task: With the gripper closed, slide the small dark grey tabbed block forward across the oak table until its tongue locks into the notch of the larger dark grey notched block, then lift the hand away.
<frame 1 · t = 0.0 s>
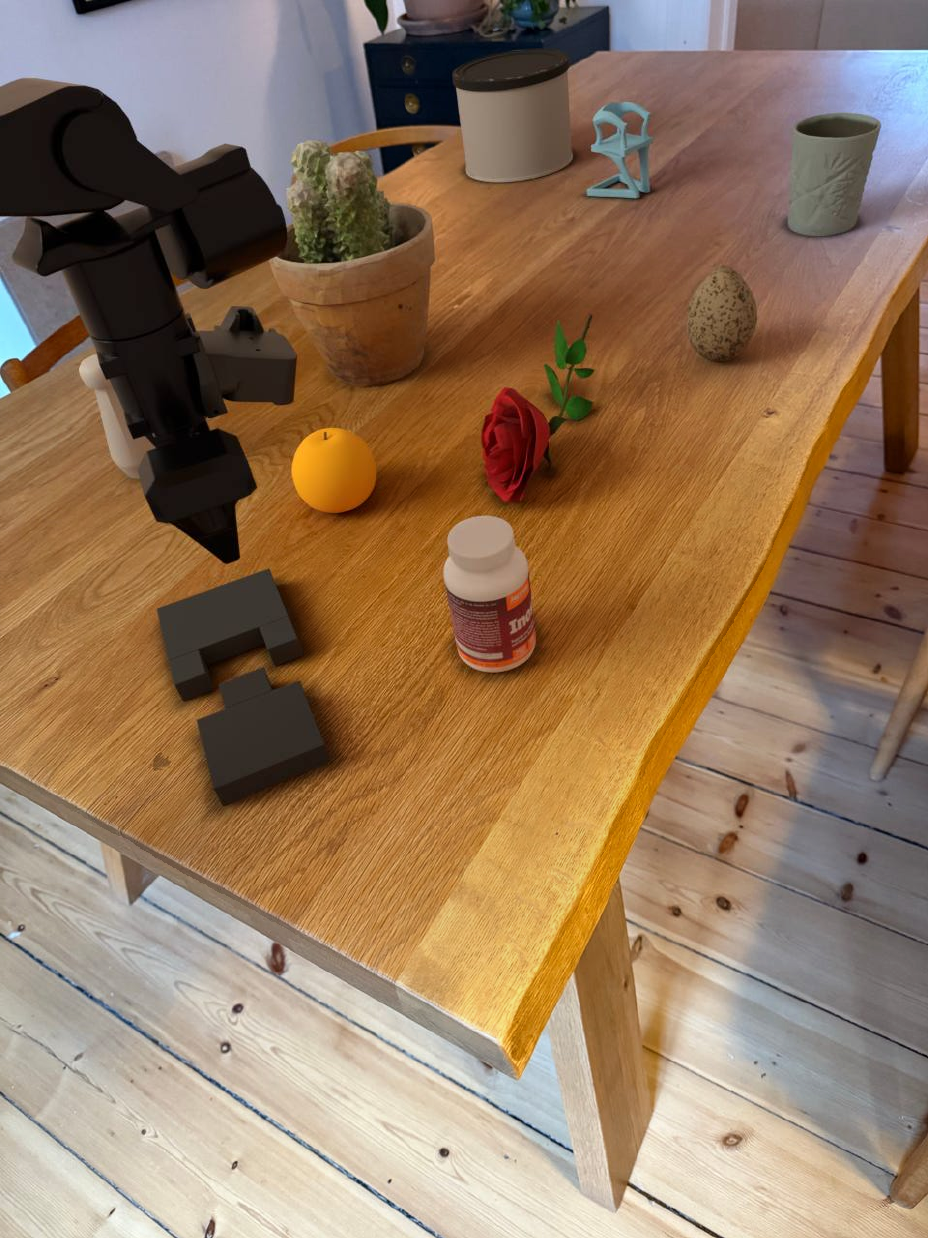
hand: (220, 525, 64), 13 cm above the table, tool pointing down, fingers open, 9 cm apart
container: (519, 164, 154), on the table
green embossed vase: (823, 224, 118), on the table
potted plant: (378, 364, 107), on the table
flower: (547, 428, 92), on the table
chair: (622, 192, 137), on the table
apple: (343, 502, 87), on the table
decorative egg: (718, 359, 97), on the table
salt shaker: (148, 470, 97), on the table
dark grey tabbed block: (266, 749, 65), on the table
dark grey notched block: (232, 640, 74), on the table
pill bottle: (497, 648, 70), on the table
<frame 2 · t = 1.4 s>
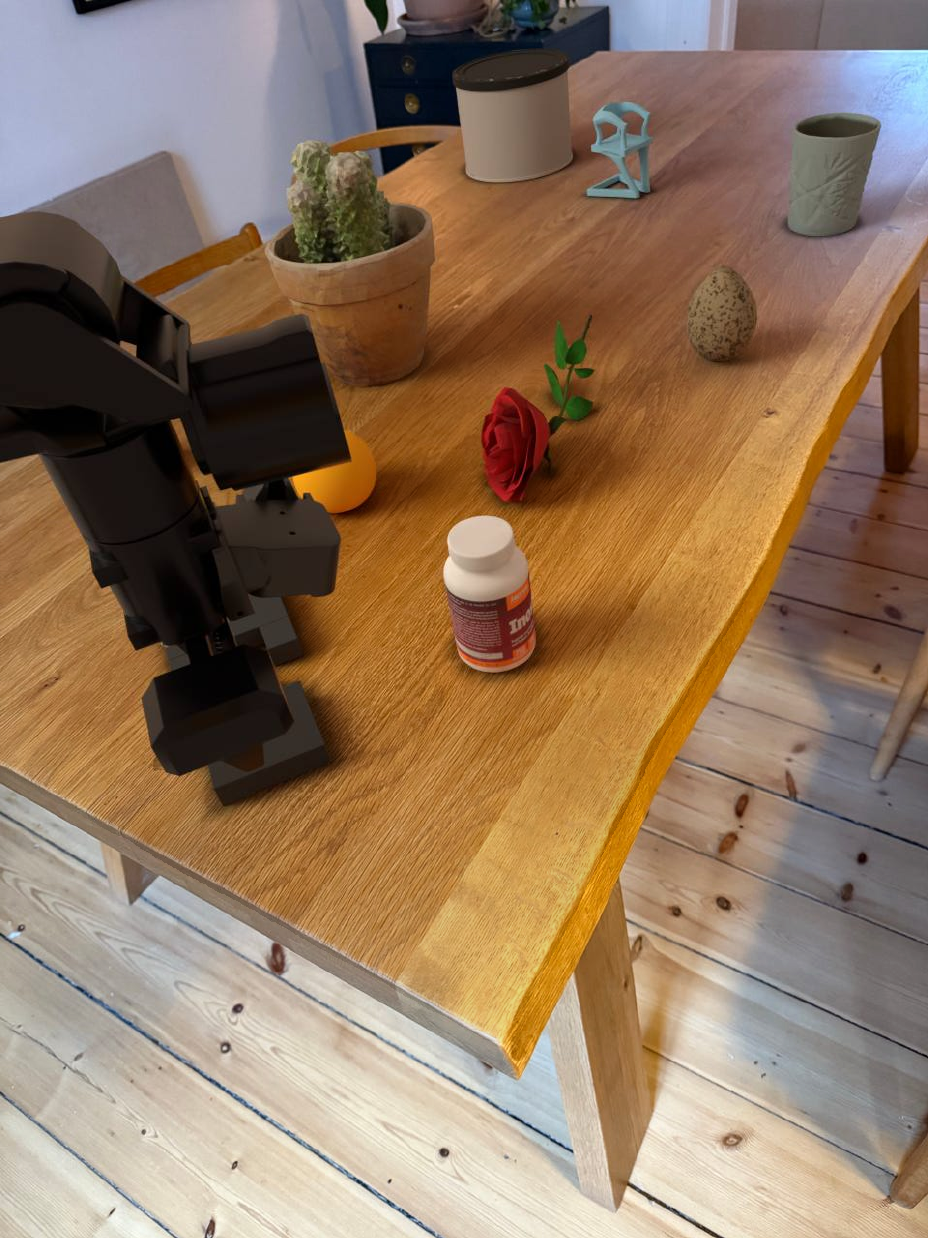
hand: (240, 720, 52), 11 cm above the table, tool pointing down, fingers open, 7 cm apart
nothing on the table moved.
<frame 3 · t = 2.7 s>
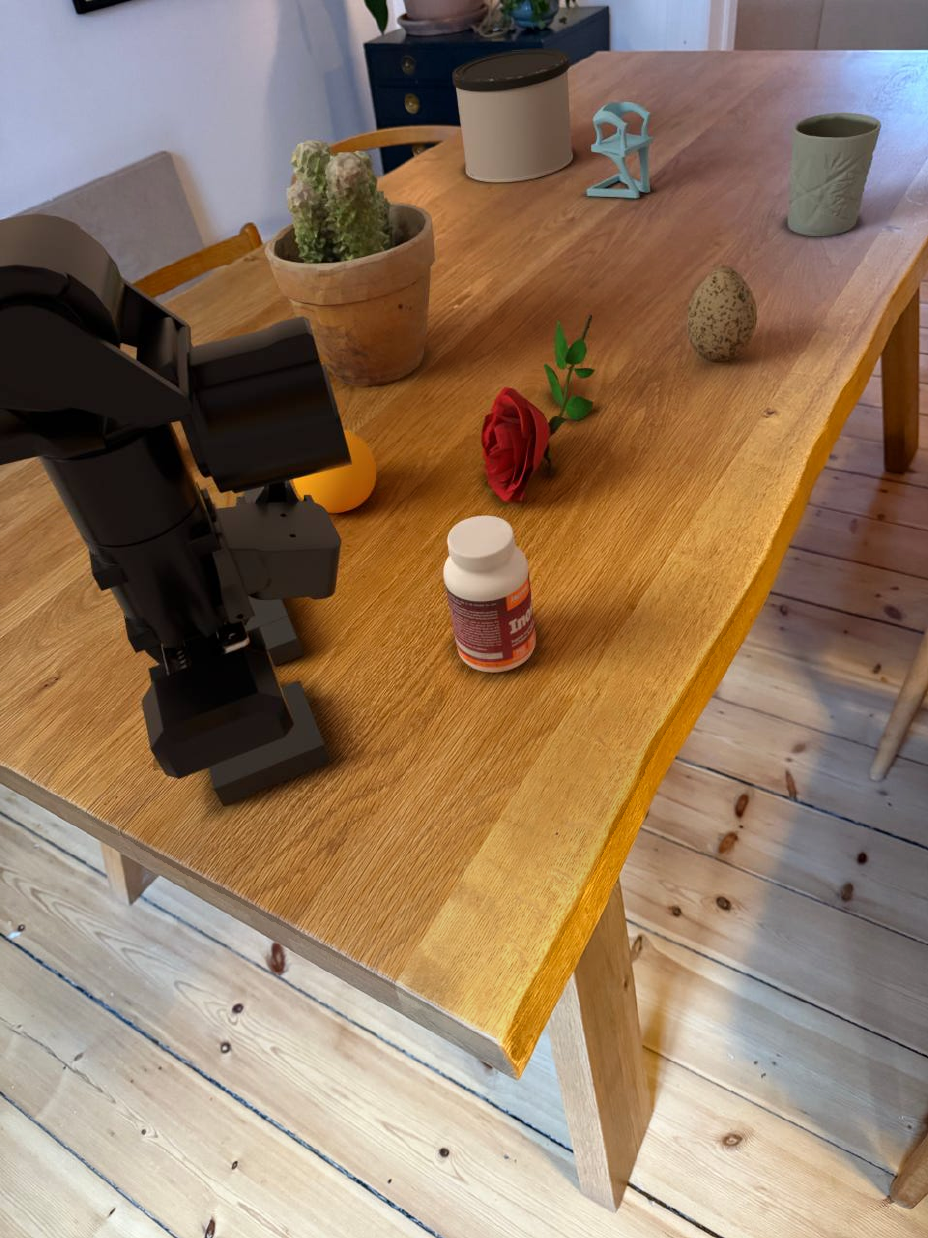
hand: (241, 722, 52), 11 cm above the table, tool pointing down, fingers closed
nothing on the table moved.
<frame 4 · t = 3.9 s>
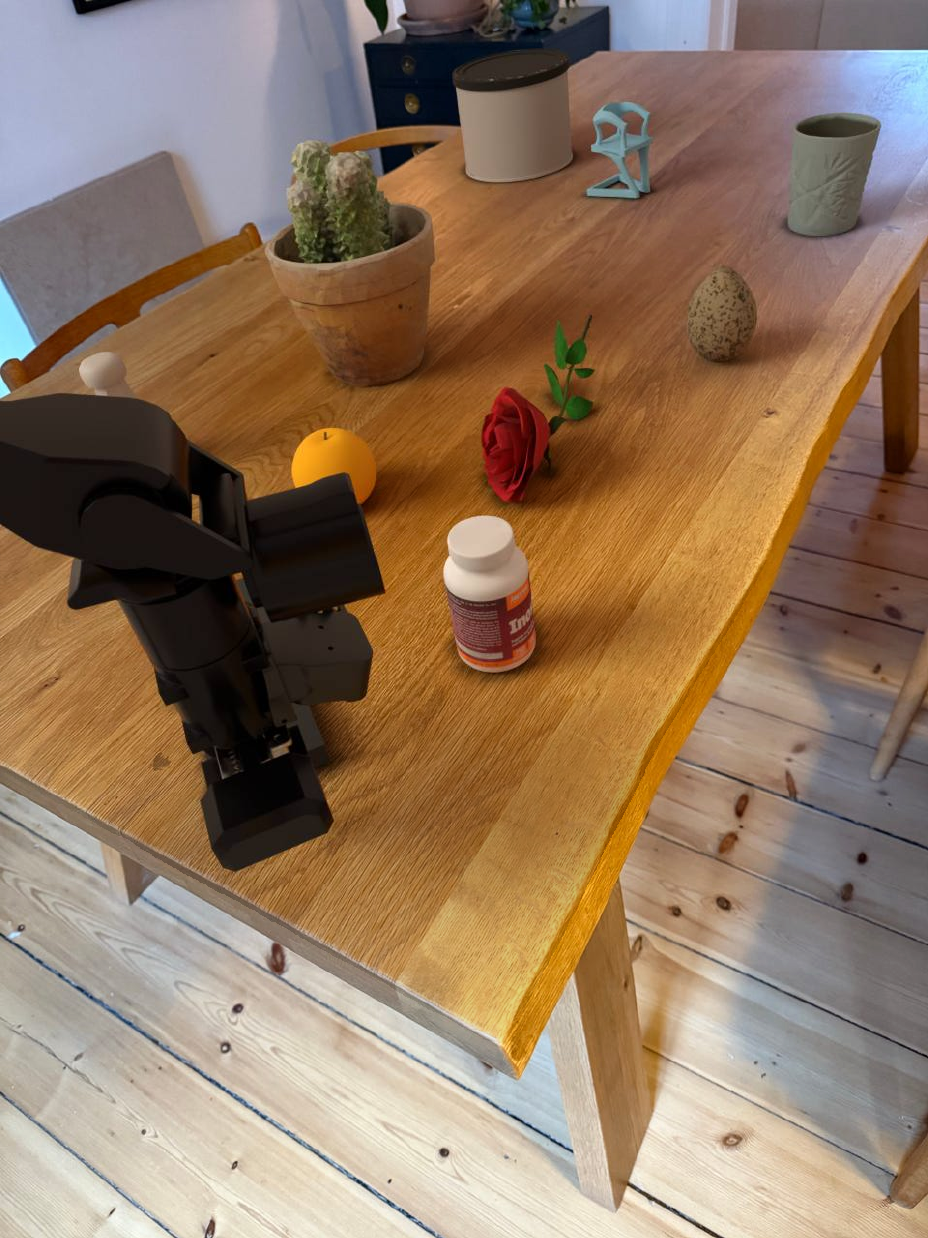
hand: (279, 801, 58), 3 cm above the table, tool pointing down, fingers closed
nothing on the table moved.
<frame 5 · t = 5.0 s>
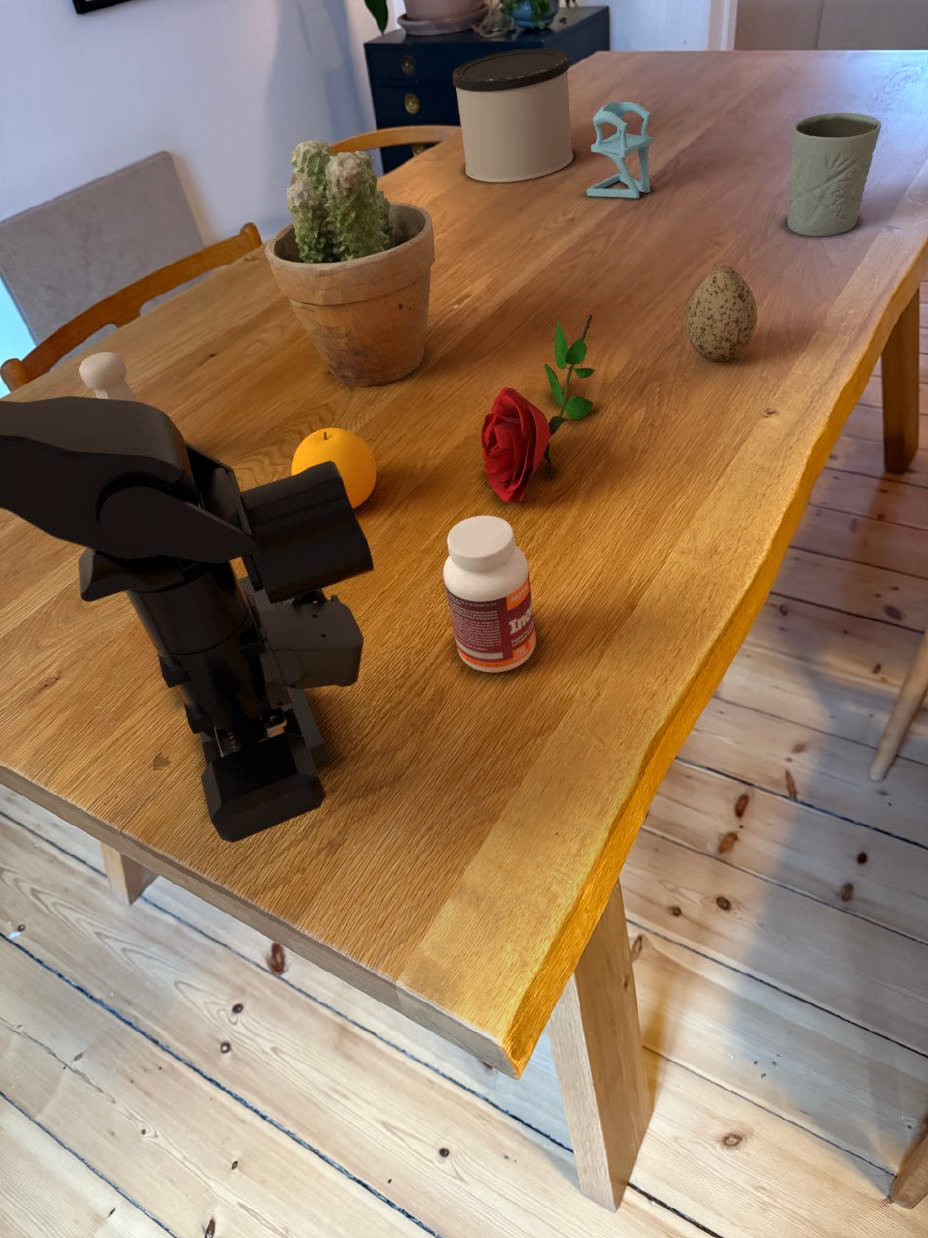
hand: (275, 782, 62), 1 cm above the table, tool pointing down, fingers closed
dark grey tabbed block: (266, 747, 65), on the table, touching gripper
everything else where it was.
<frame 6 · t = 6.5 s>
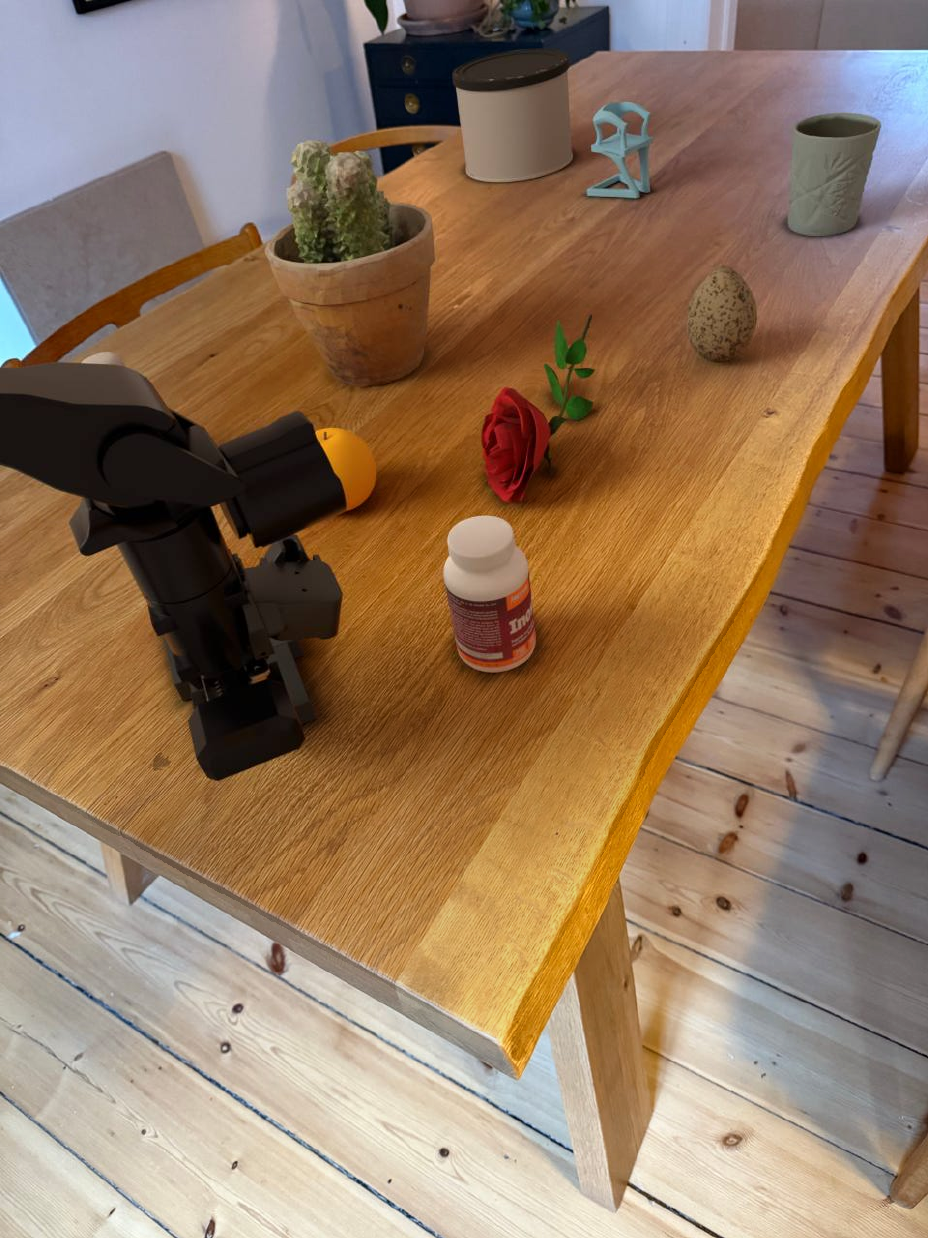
hand: (262, 736, 65), 1 cm above the table, tool pointing down, fingers closed
dark grey tabbed block: (255, 707, 68), on the table, touching dark grey notched block, gripper
everything else where it was.
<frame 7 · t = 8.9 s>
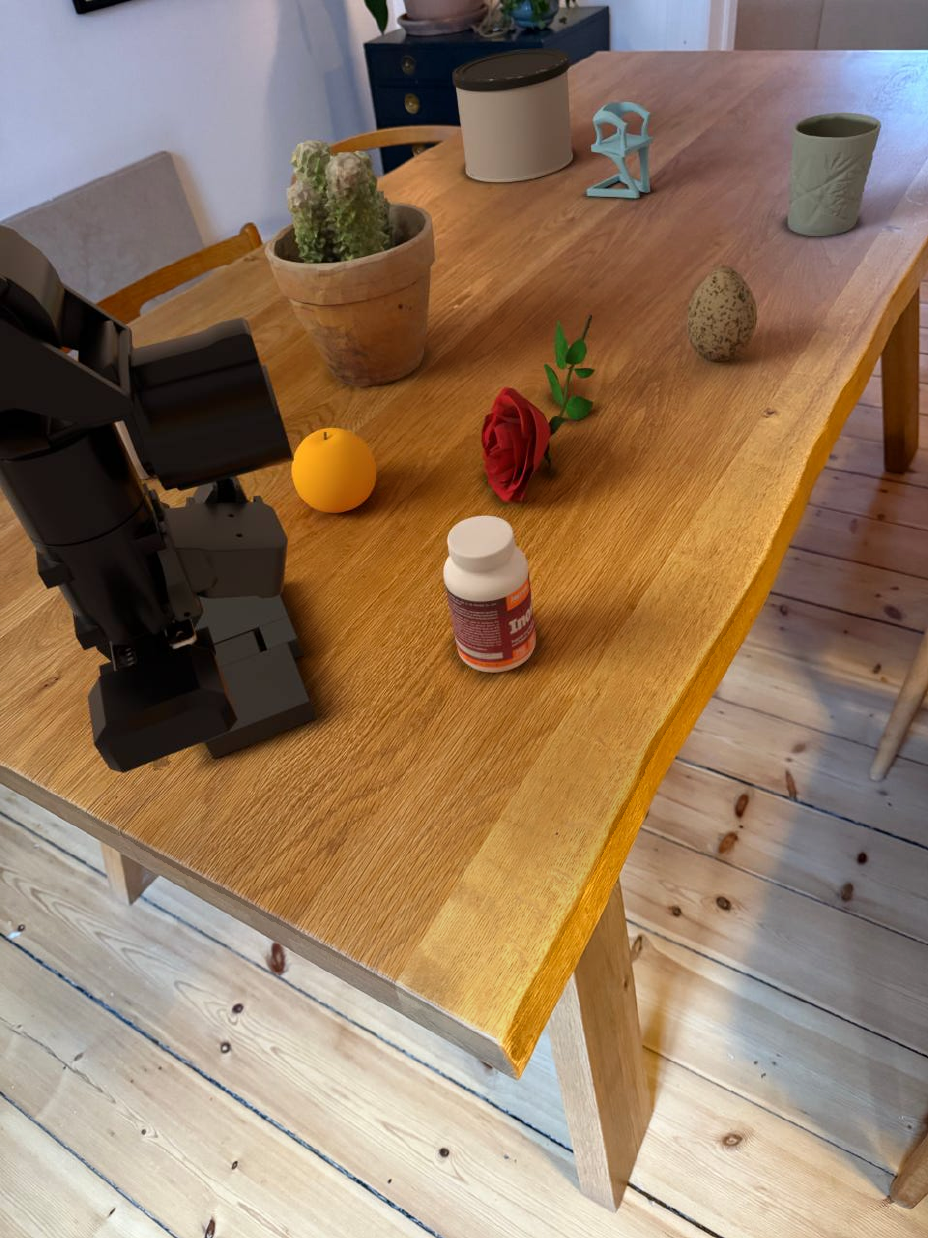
hand: (194, 719, 53), 11 cm above the table, tool pointing down, fingers closed
dark grey tabbed block: (255, 707, 68), on the table, touching dark grey notched block
everything else where it was.
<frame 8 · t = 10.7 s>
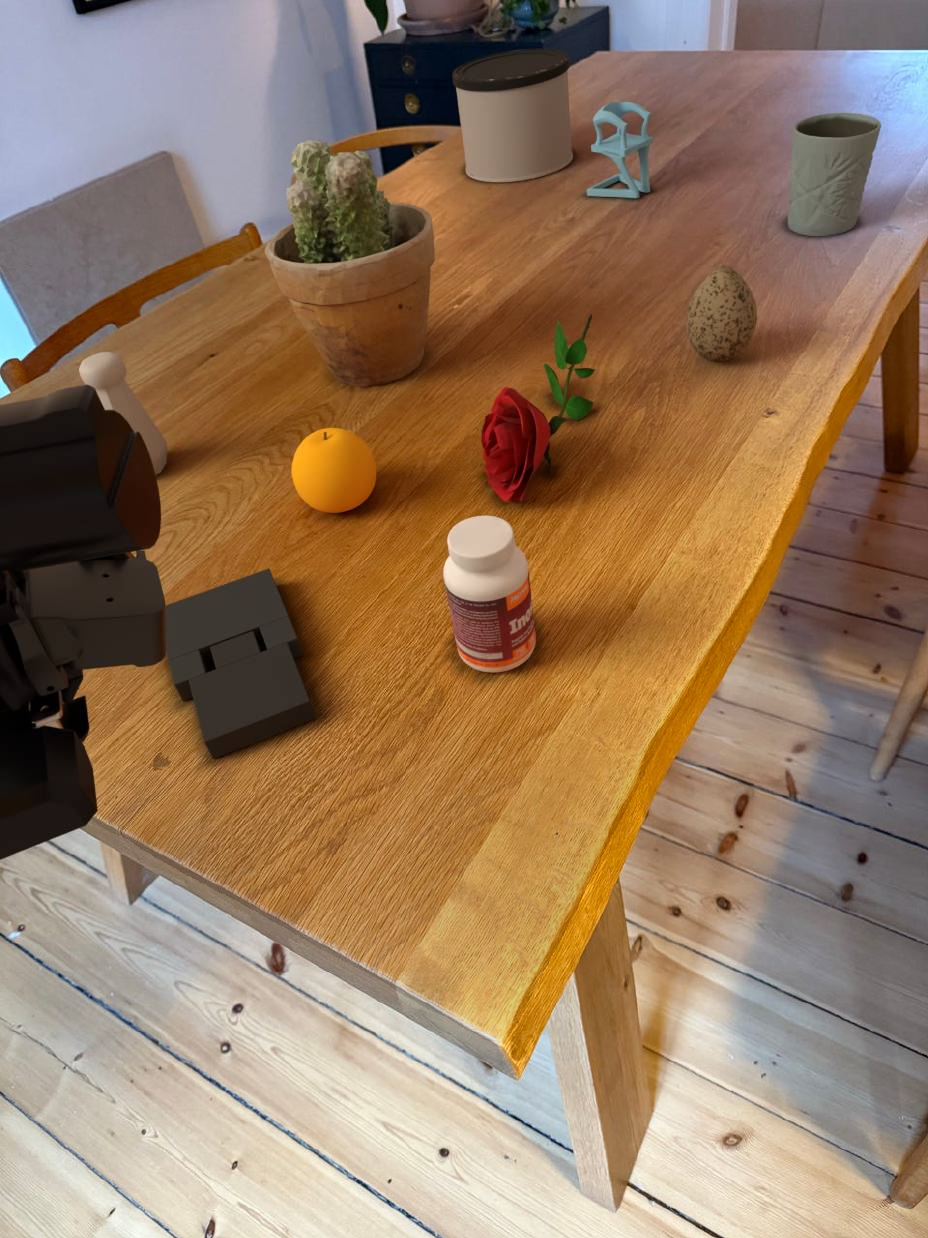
hand: (83, 790, 49), 12 cm above the table, tool pointing down, fingers closed
nothing on the table moved.
at the end: dark grey tabbed block 0.3 cm from the target spot on the table beside the dark grey notched block, on the table; dark grey tabbed block touching dark grey notched block, table; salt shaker moved 0.2 cm from its start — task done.
